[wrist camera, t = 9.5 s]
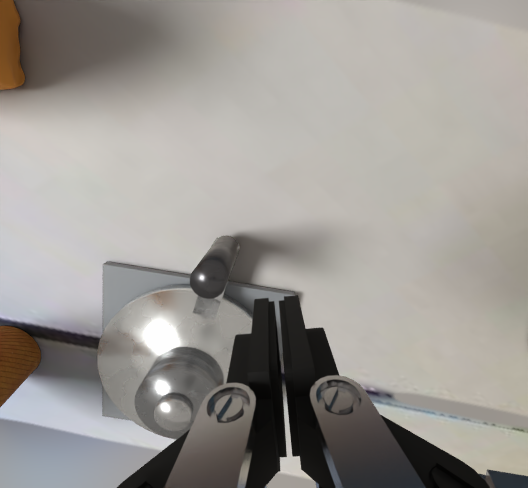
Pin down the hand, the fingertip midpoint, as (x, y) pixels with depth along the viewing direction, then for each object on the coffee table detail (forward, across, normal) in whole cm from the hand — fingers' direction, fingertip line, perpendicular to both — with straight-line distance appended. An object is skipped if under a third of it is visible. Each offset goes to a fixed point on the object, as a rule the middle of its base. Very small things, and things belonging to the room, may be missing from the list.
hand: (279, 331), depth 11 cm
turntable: (+15, +9, +11) cm, 21 cm away
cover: (+14, +10, +14) cm, 22 cm away
